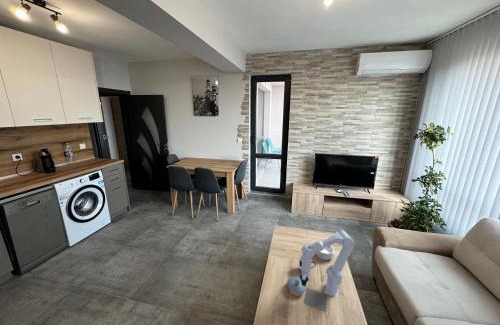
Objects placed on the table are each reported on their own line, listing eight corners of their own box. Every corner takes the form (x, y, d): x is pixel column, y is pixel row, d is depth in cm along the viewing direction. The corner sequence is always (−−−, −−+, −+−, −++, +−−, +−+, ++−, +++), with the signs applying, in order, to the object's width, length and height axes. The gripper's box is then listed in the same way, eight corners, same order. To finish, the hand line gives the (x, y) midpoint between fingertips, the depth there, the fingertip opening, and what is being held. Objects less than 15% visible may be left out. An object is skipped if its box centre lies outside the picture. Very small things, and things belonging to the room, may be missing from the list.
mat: (307, 288, 140) (307, 287, 140) (327, 295, 135) (327, 294, 135) (303, 303, 128) (303, 303, 128) (325, 312, 123) (325, 311, 123)
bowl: (290, 282, 145) (290, 277, 144) (304, 286, 141) (305, 282, 140) (287, 293, 136) (287, 288, 135) (302, 298, 132) (303, 293, 131)
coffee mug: (296, 270, 156) (297, 259, 153) (301, 264, 162) (302, 253, 160) (310, 278, 148) (311, 267, 146) (315, 272, 154) (316, 260, 152)
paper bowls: (330, 251, 179) (331, 243, 177) (335, 263, 164) (336, 254, 162) (312, 249, 180) (313, 241, 178) (316, 261, 165) (317, 253, 163)
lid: (289, 275, 146) (290, 270, 145) (308, 281, 141) (308, 276, 140) (284, 288, 135) (285, 284, 134) (304, 296, 129) (305, 291, 128)
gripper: (302, 254, 138) (300, 271, 142) (297, 269, 126) (296, 287, 129) (312, 257, 135) (311, 275, 139) (309, 272, 123) (307, 291, 126)
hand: (304, 281), depth 134 cm, fingers open, 7 cm apart
